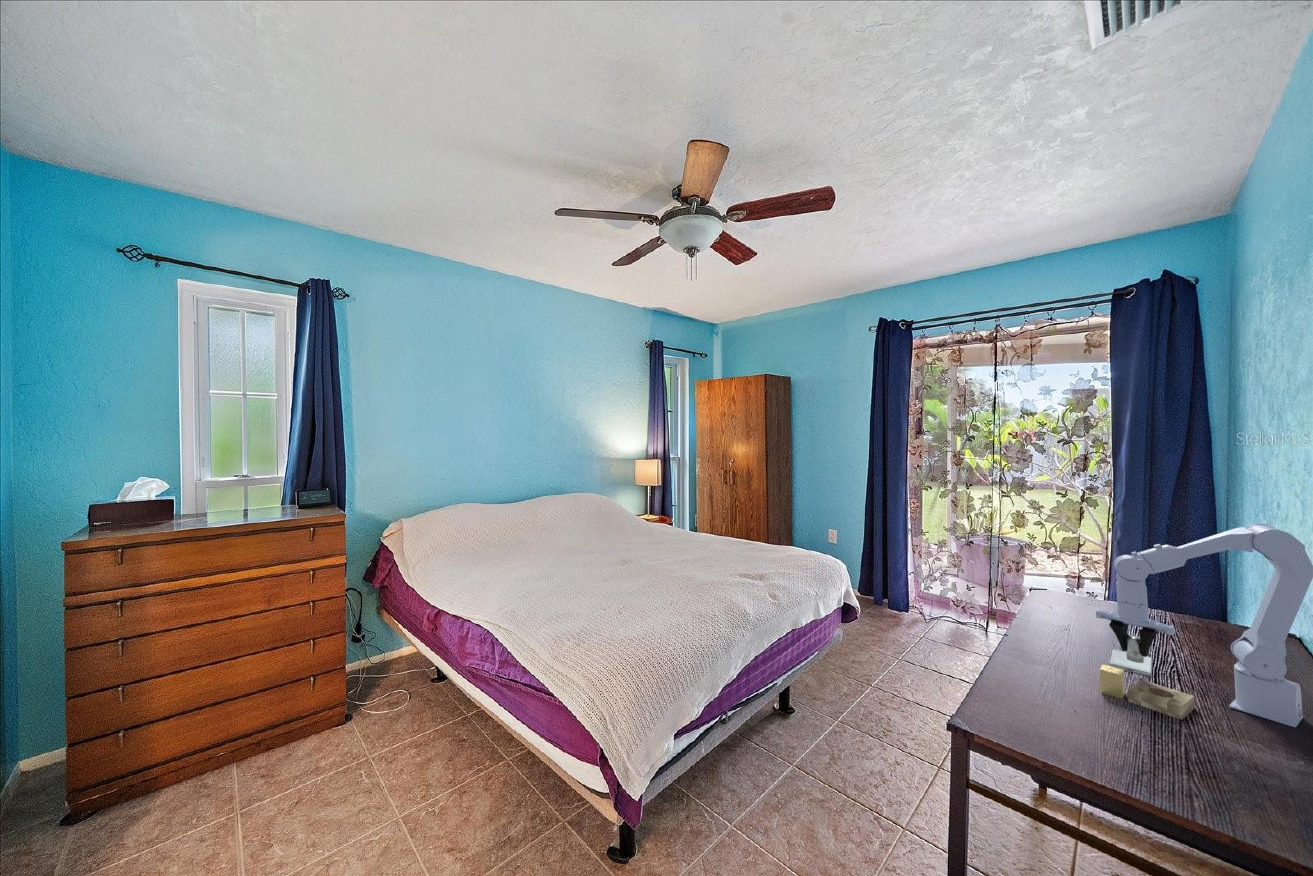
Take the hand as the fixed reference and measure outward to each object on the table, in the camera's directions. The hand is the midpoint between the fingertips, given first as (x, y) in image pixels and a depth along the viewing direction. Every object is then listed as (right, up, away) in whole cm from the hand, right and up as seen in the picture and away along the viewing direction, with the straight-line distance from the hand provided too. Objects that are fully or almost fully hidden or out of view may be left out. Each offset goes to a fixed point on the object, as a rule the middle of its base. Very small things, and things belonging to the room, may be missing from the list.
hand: (1134, 652), depth 122 cm
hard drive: (+10, -9, +11) cm, 18 cm away
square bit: (-9, -9, -3) cm, 13 cm away
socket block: (-3, -8, -9) cm, 13 cm away
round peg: (0, -2, 0) cm, 2 cm away
